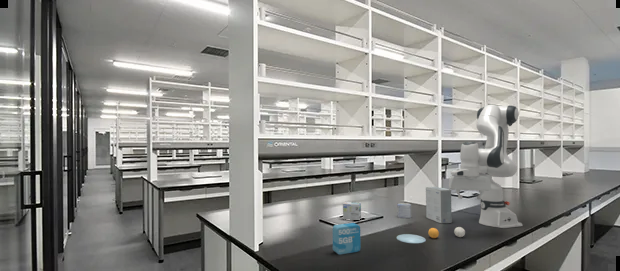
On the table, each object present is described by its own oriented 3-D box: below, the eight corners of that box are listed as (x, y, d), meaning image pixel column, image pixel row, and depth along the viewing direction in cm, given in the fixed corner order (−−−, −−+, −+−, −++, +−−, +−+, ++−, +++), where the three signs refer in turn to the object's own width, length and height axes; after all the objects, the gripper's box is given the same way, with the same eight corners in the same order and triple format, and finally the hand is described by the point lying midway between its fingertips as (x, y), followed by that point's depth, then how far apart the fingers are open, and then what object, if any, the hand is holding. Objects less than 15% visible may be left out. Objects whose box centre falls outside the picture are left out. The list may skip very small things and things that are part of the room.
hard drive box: (452, 223, 184) (451, 189, 185) (441, 224, 182) (440, 190, 183) (436, 216, 199) (435, 186, 200) (425, 217, 198) (425, 186, 198)
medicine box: (409, 216, 201) (409, 203, 201) (411, 218, 197) (411, 204, 197) (397, 216, 202) (397, 203, 202) (398, 218, 198) (398, 204, 198)
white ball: (461, 235, 160) (461, 225, 160) (467, 238, 155) (467, 228, 155) (452, 235, 160) (452, 226, 160) (457, 238, 155) (457, 228, 155)
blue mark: (418, 234, 163) (418, 233, 163) (430, 242, 149) (430, 242, 149) (392, 235, 162) (392, 234, 162) (402, 243, 148) (402, 243, 148)
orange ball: (435, 236, 159) (435, 226, 159) (440, 239, 154) (440, 229, 154) (426, 236, 159) (426, 226, 159) (431, 239, 154) (431, 229, 154)
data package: (337, 255, 134) (336, 227, 134) (332, 251, 138) (332, 225, 138) (360, 251, 138) (360, 224, 139) (355, 248, 143) (355, 222, 143)
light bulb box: (361, 219, 196) (361, 202, 196) (359, 221, 189) (359, 204, 190) (345, 217, 199) (344, 201, 199) (342, 220, 193) (342, 203, 193)
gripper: (487, 172, 163) (487, 198, 163) (447, 171, 166) (447, 197, 165) (493, 173, 157) (493, 200, 156) (451, 172, 159) (451, 199, 159)
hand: (469, 198), depth 161 cm, fingers open, 8 cm apart
